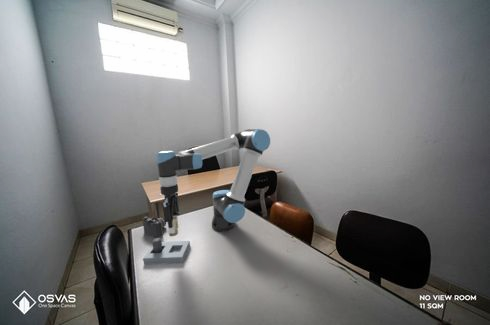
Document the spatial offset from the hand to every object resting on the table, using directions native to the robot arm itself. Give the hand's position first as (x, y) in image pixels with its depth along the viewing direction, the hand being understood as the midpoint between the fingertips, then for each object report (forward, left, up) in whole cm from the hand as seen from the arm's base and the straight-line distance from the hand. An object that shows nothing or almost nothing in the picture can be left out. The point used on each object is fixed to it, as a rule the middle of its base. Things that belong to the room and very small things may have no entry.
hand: (173, 230), depth 84 cm
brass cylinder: (0, 0, -2) cm, 2 cm away
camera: (+19, -21, -14) cm, 32 cm away
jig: (+4, 0, -13) cm, 14 cm away
